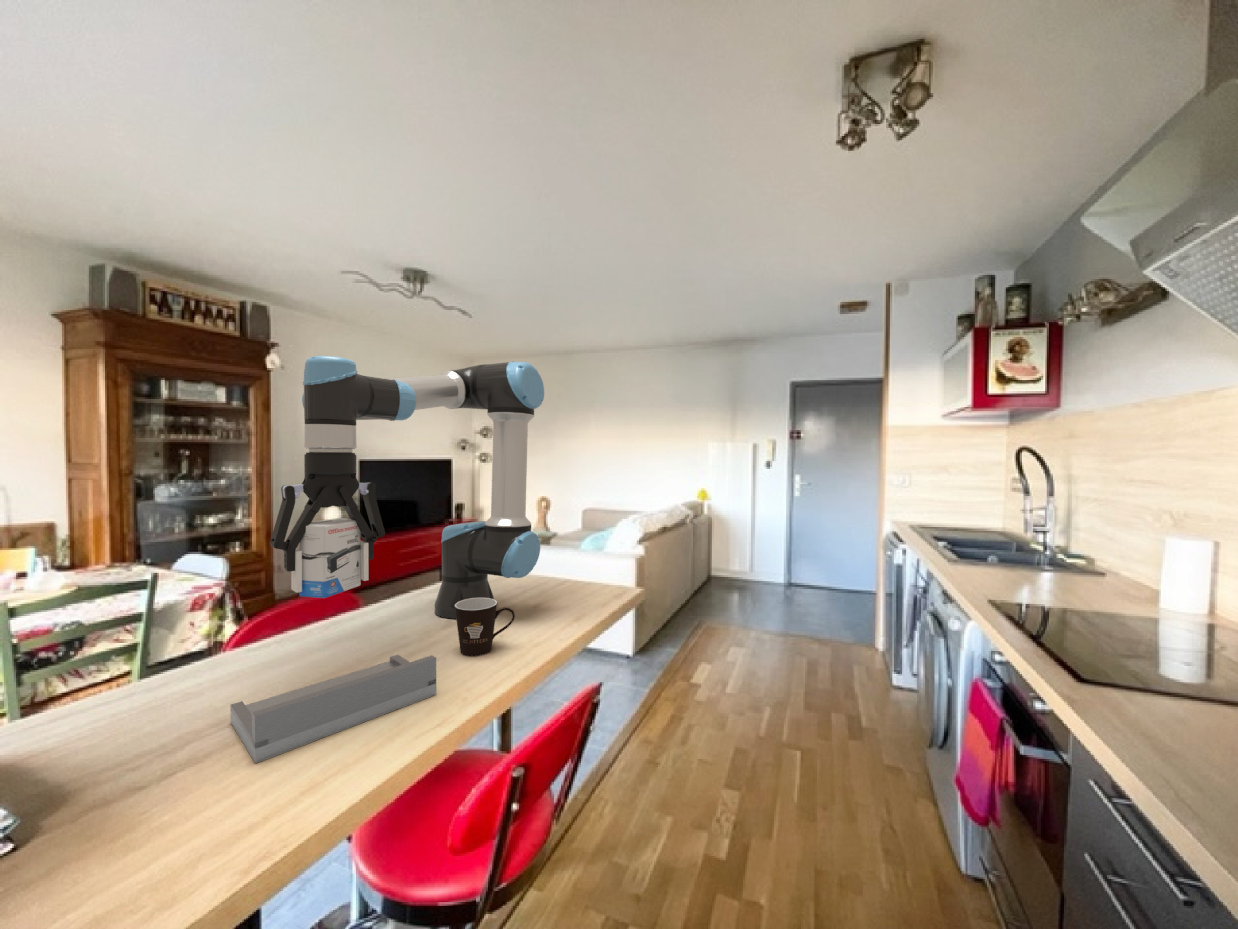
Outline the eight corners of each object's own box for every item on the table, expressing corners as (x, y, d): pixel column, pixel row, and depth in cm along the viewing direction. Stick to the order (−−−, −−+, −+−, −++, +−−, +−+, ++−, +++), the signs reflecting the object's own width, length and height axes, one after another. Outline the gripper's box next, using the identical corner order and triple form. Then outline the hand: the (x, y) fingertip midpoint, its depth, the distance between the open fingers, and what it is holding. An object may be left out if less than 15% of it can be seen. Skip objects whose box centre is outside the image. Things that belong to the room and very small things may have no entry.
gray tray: (397, 668, 97) (397, 635, 97) (436, 694, 87) (436, 657, 87) (230, 722, 78) (230, 681, 77) (255, 763, 67) (254, 716, 67)
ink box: (324, 599, 79) (323, 525, 79) (297, 597, 80) (297, 524, 80) (362, 585, 88) (362, 518, 87) (338, 583, 89) (337, 517, 88)
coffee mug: (446, 656, 103) (446, 608, 103) (468, 640, 111) (468, 596, 111) (498, 662, 100) (498, 613, 100) (516, 646, 109) (516, 600, 108)
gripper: (388, 451, 94) (388, 569, 94) (244, 450, 78) (245, 593, 78) (406, 451, 89) (406, 576, 89) (256, 450, 73) (257, 603, 73)
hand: (331, 584), depth 84 cm, fingers closed on ink box, 9 cm apart
